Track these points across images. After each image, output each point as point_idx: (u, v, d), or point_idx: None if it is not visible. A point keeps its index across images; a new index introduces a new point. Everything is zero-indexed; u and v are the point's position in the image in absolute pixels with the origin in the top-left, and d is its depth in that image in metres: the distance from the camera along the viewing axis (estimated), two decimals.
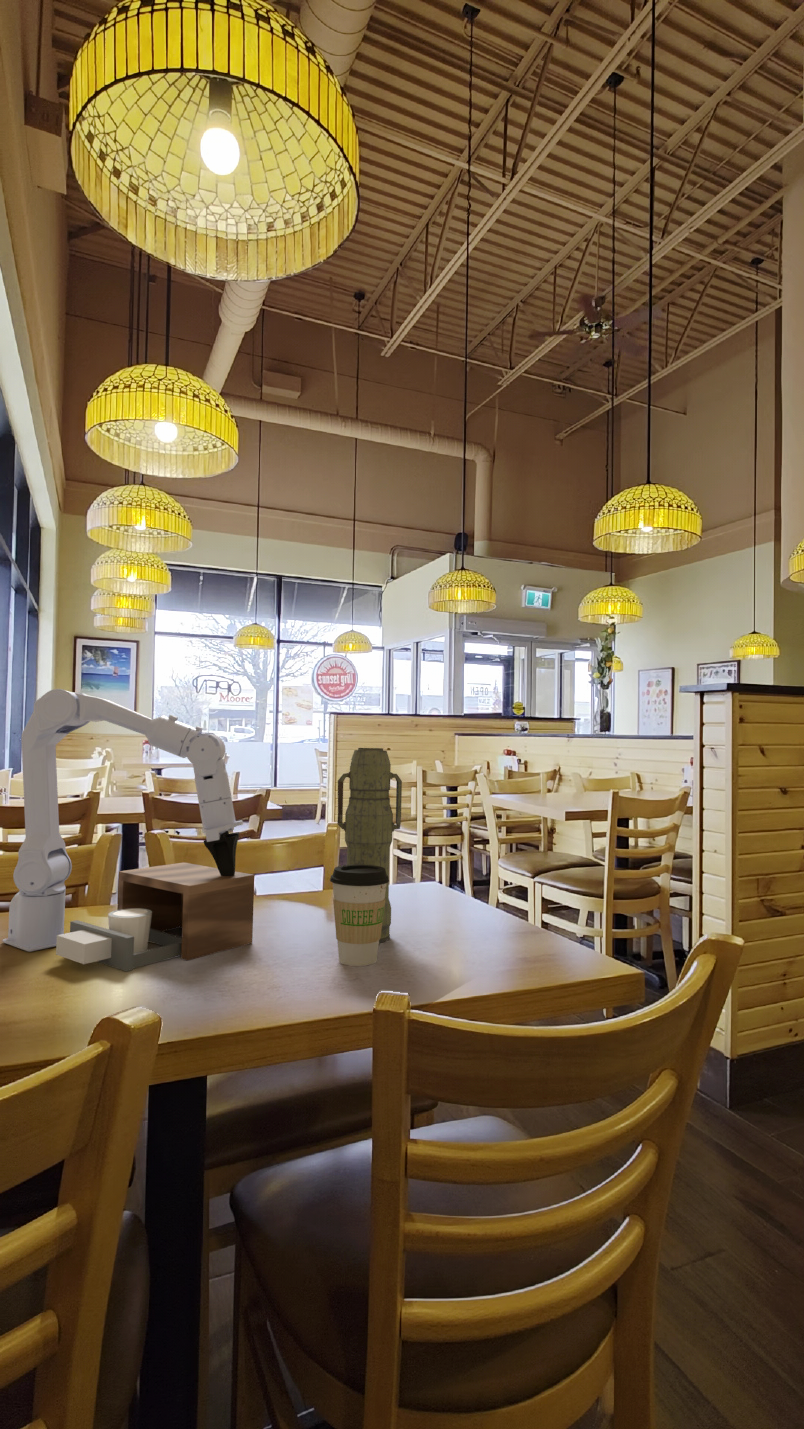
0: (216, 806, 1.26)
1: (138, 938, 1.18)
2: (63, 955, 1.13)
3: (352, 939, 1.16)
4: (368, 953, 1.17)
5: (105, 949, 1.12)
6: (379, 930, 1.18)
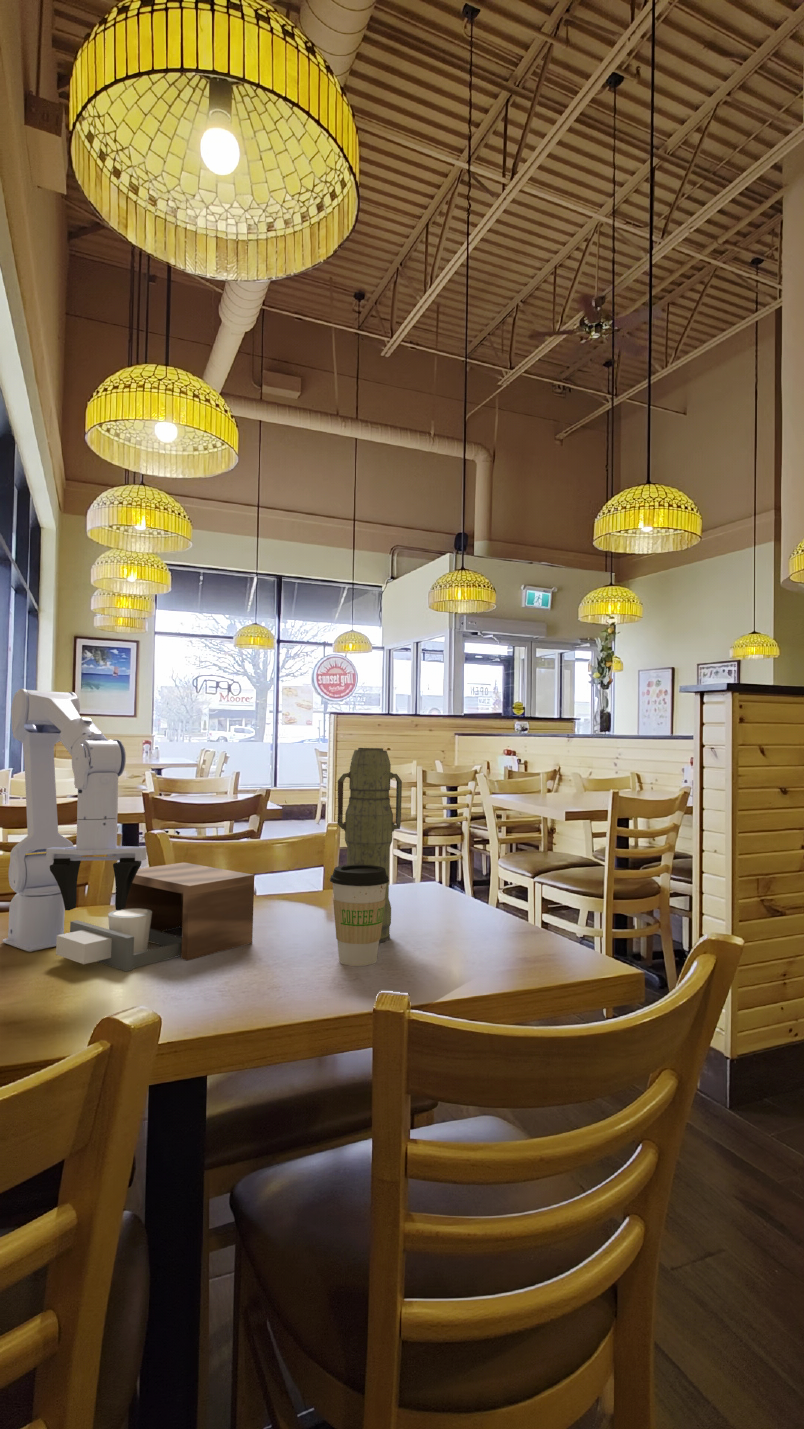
0: None
1: (138, 938, 1.18)
2: (63, 955, 1.13)
3: (352, 939, 1.16)
4: (368, 953, 1.17)
5: (105, 949, 1.12)
6: (379, 930, 1.18)
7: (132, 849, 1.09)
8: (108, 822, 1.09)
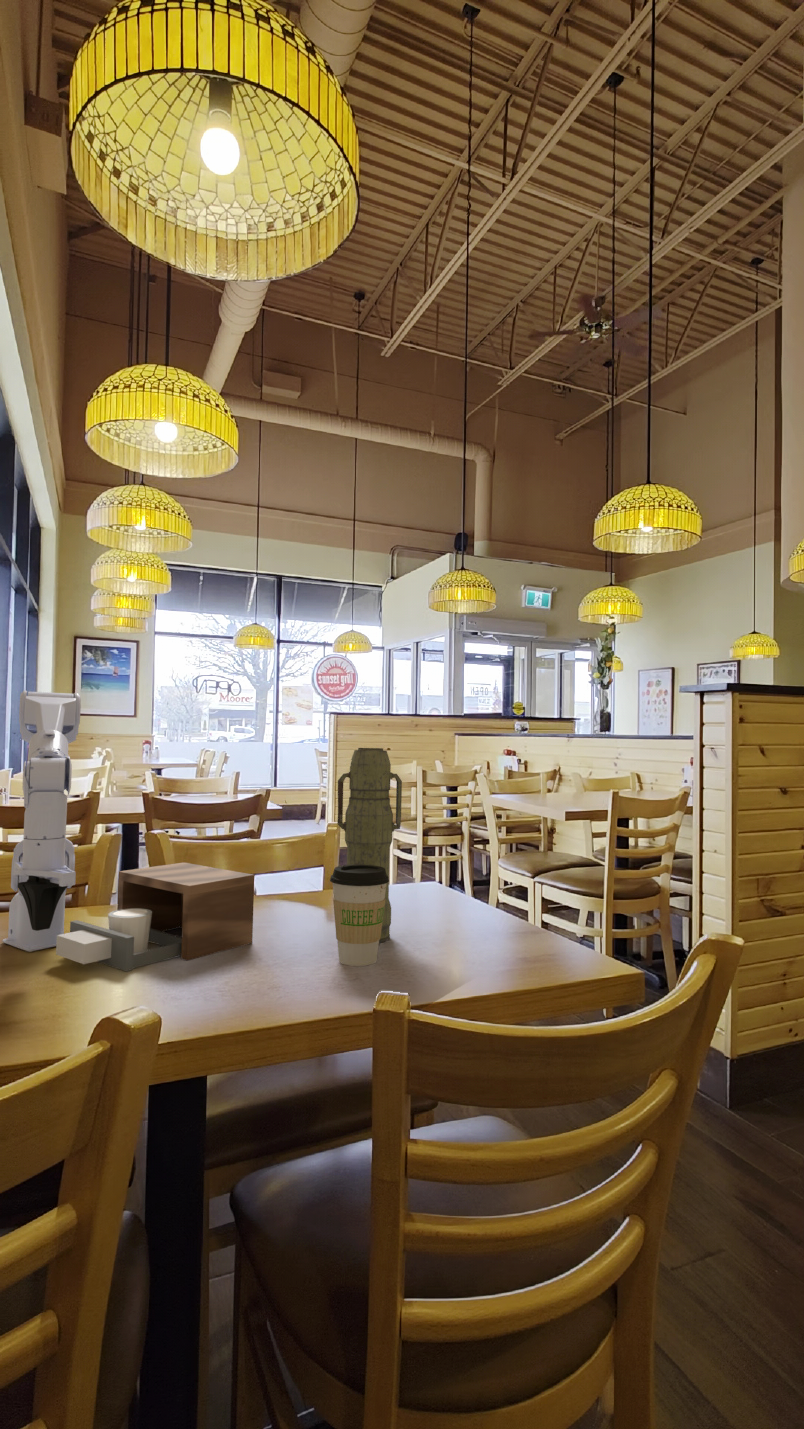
0: None
1: (138, 938, 1.18)
2: (63, 955, 1.13)
3: (352, 939, 1.16)
4: (368, 953, 1.17)
5: (105, 949, 1.12)
6: (379, 930, 1.18)
7: (56, 873, 1.04)
8: (42, 843, 1.06)
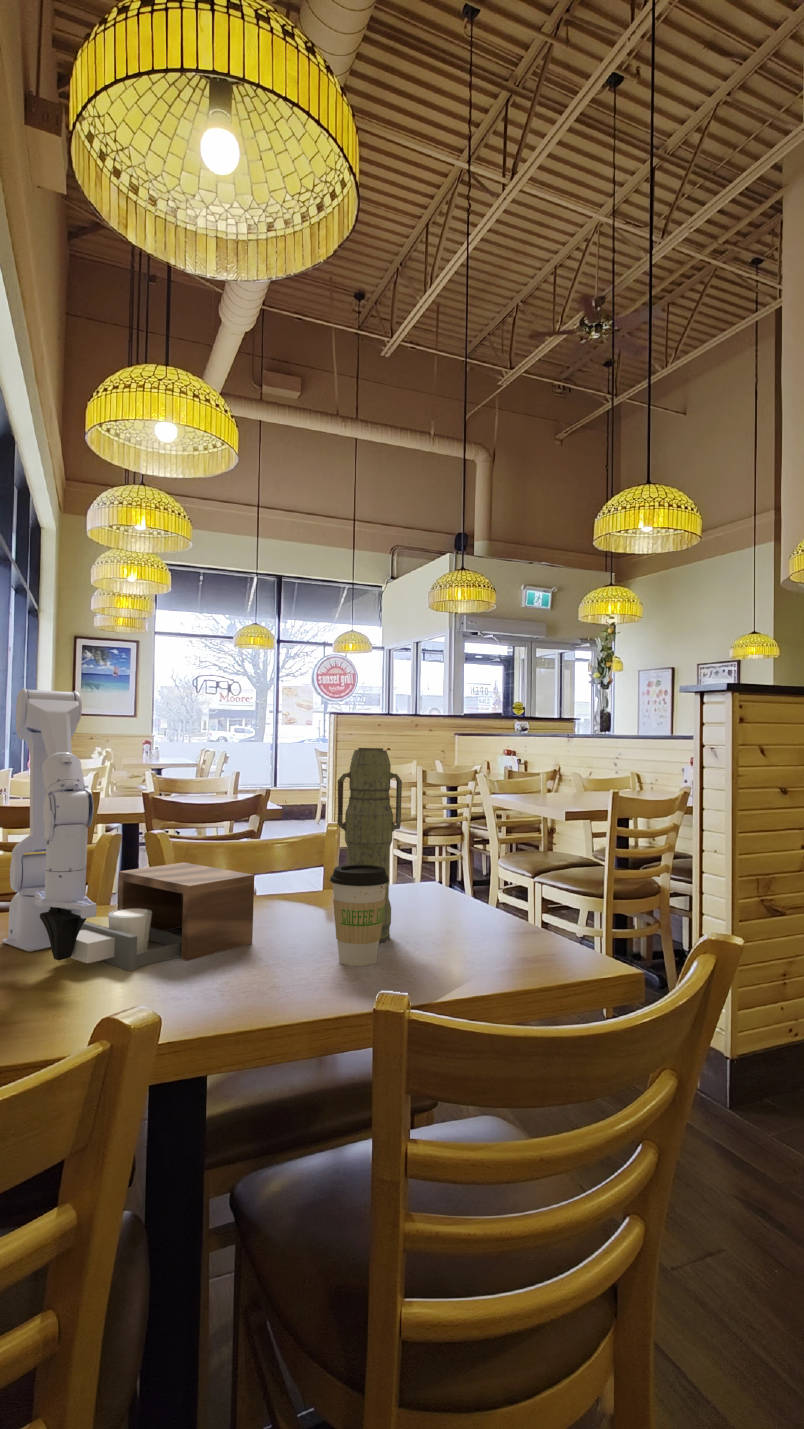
0: None
1: (138, 938, 1.18)
2: None
3: (352, 939, 1.16)
4: (368, 953, 1.17)
5: (108, 948, 1.13)
6: (379, 930, 1.18)
7: (78, 905, 1.07)
8: (64, 875, 1.09)
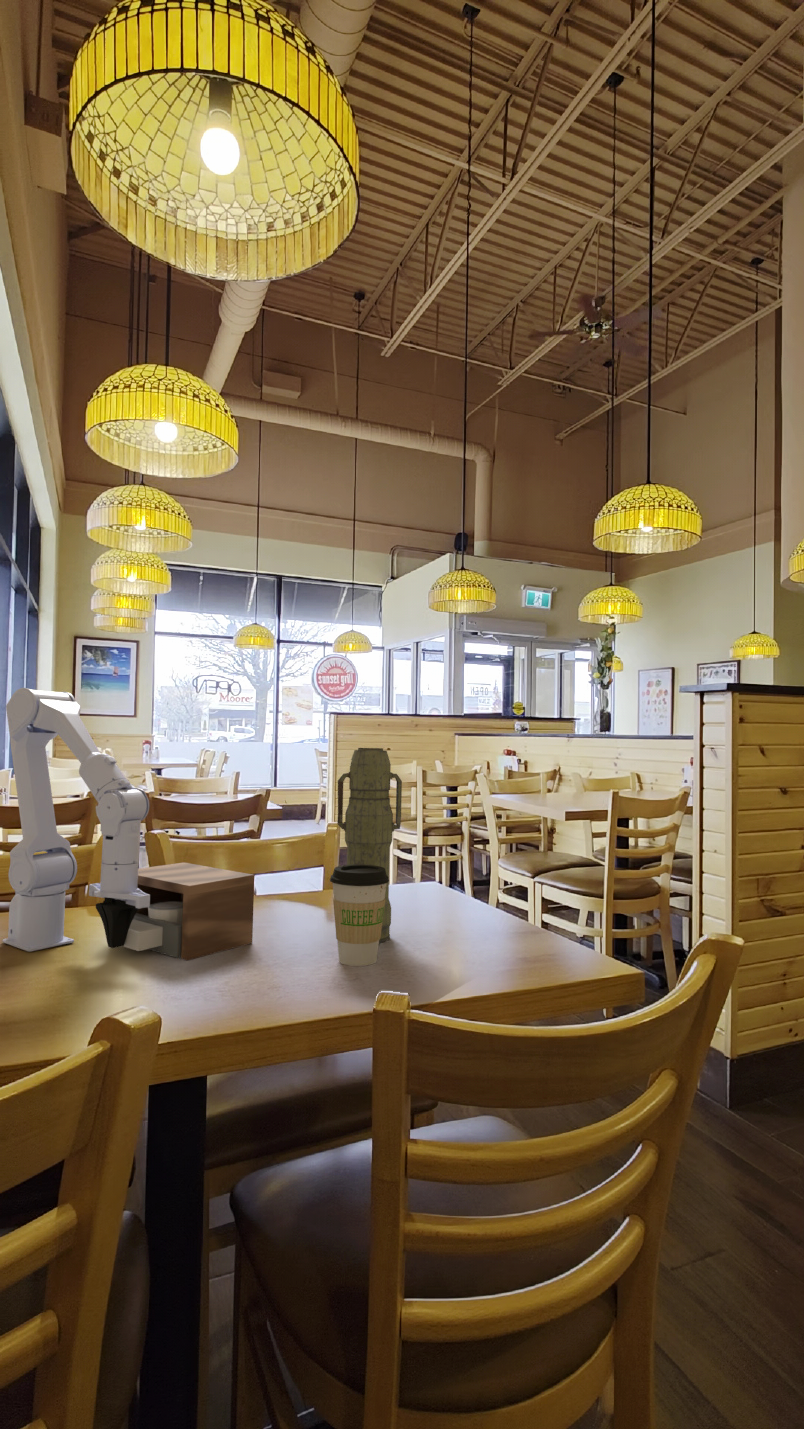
0: None
1: None
2: None
3: (352, 939, 1.16)
4: (368, 953, 1.17)
5: (156, 937, 1.20)
6: (379, 930, 1.18)
7: (133, 896, 1.14)
8: (119, 868, 1.16)
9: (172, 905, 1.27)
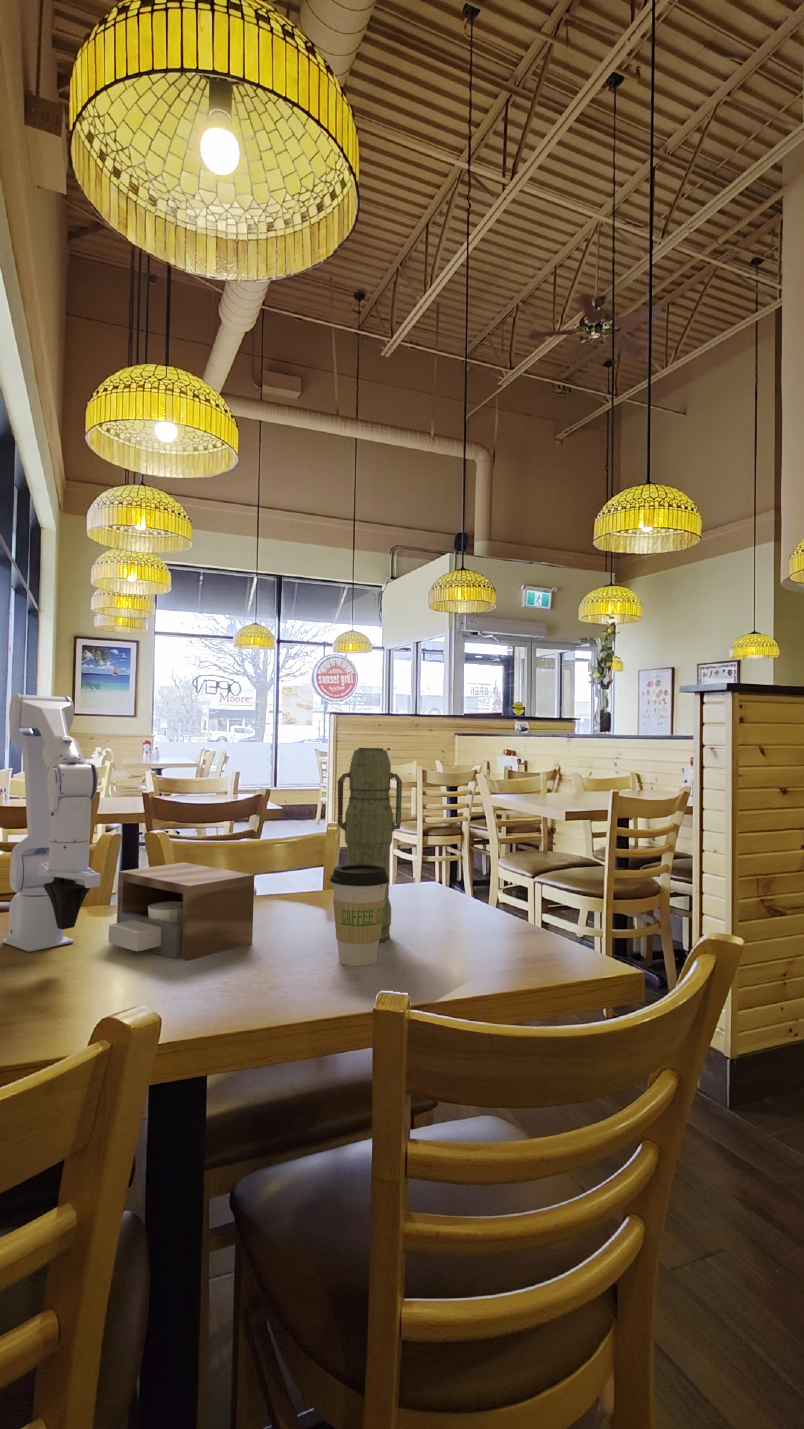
0: None
1: None
2: (116, 943, 1.20)
3: (352, 939, 1.16)
4: (368, 953, 1.17)
5: (155, 937, 1.20)
6: (379, 930, 1.18)
7: (82, 875, 1.09)
8: (68, 846, 1.11)
9: (172, 905, 1.27)
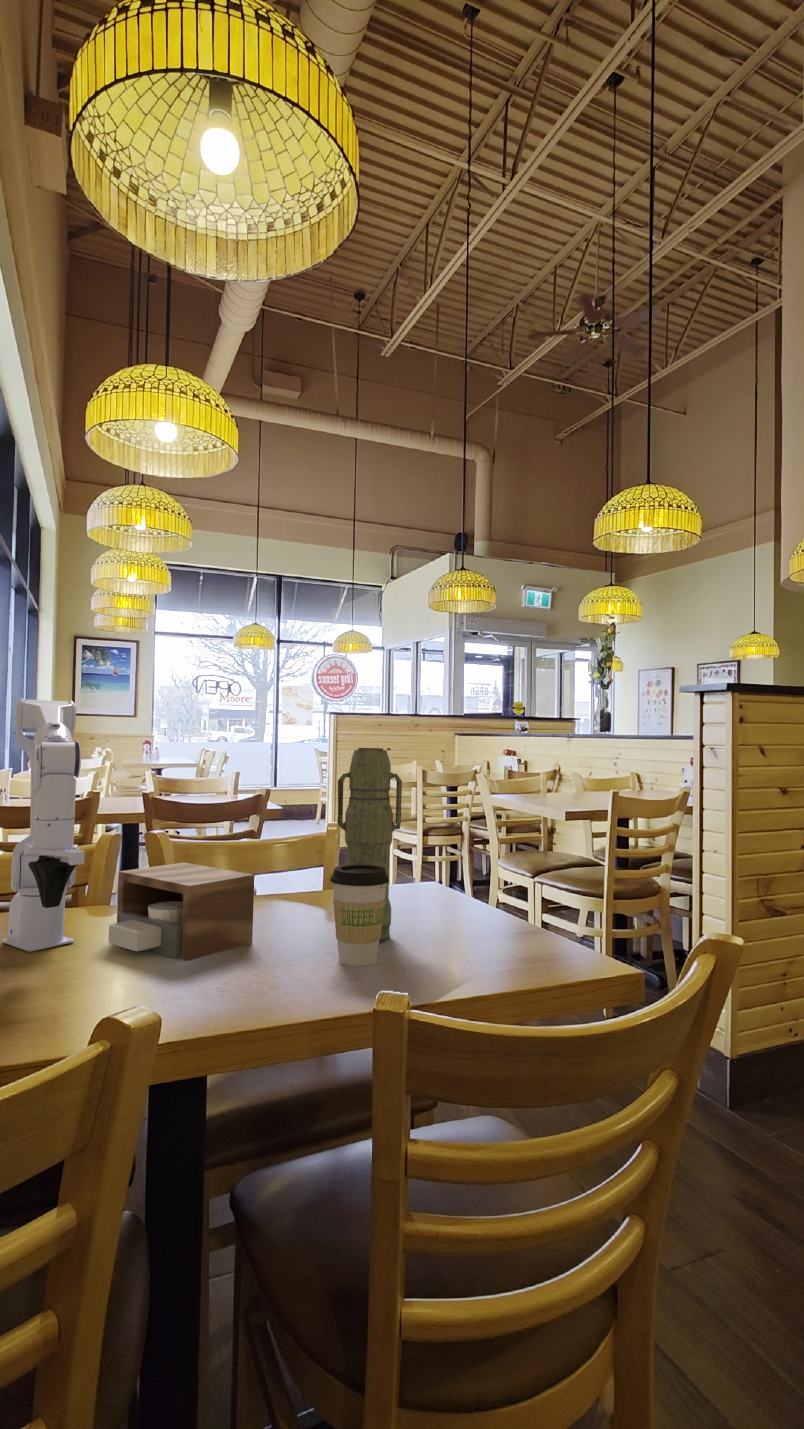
0: None
1: None
2: (116, 943, 1.20)
3: (352, 939, 1.16)
4: (368, 953, 1.17)
5: (155, 937, 1.20)
6: (379, 930, 1.18)
7: (66, 852, 1.09)
8: (52, 823, 1.11)
9: (172, 905, 1.27)
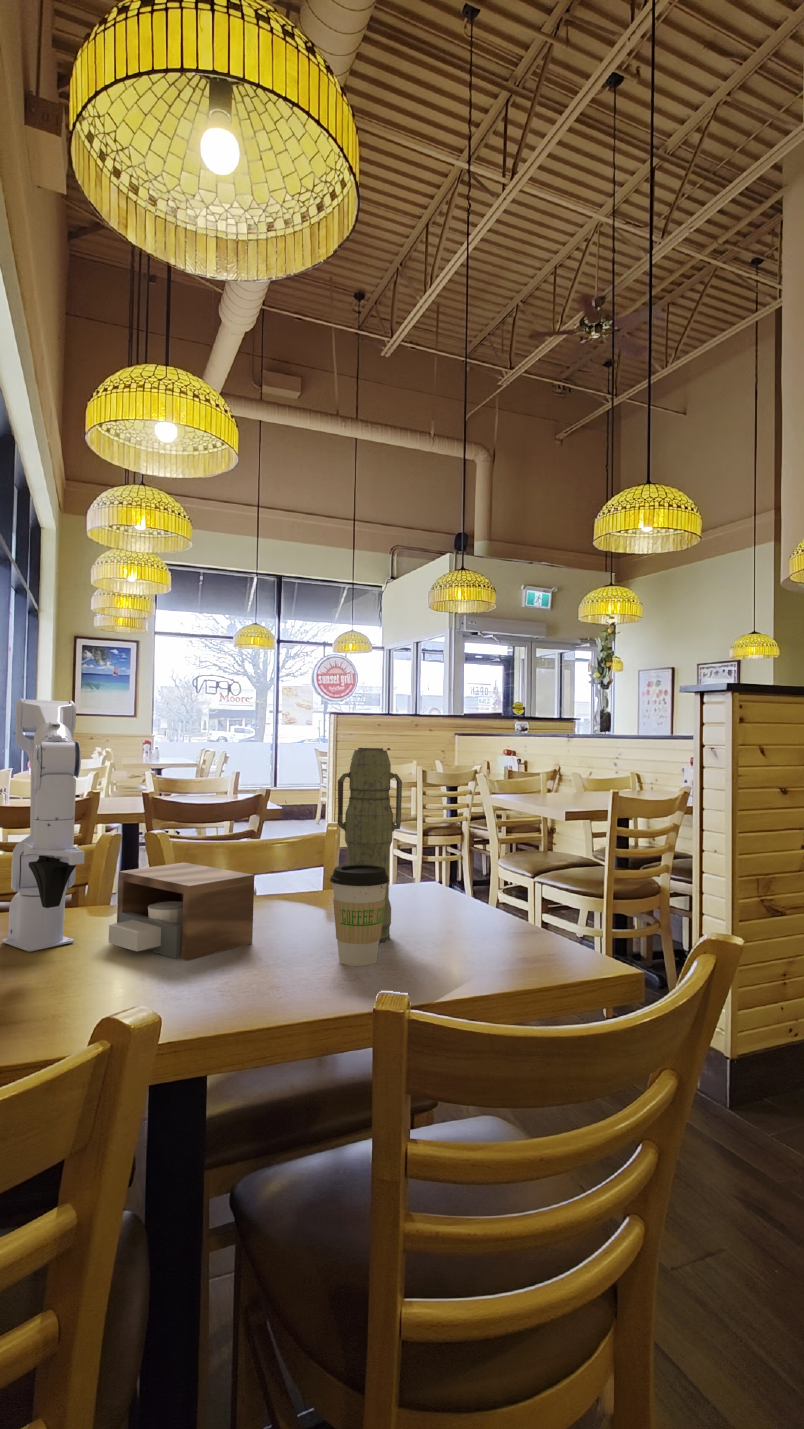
0: None
1: None
2: (116, 943, 1.20)
3: (352, 939, 1.16)
4: (368, 953, 1.17)
5: (155, 937, 1.20)
6: (379, 930, 1.18)
7: (66, 852, 1.09)
8: (52, 823, 1.11)
9: (172, 905, 1.27)
